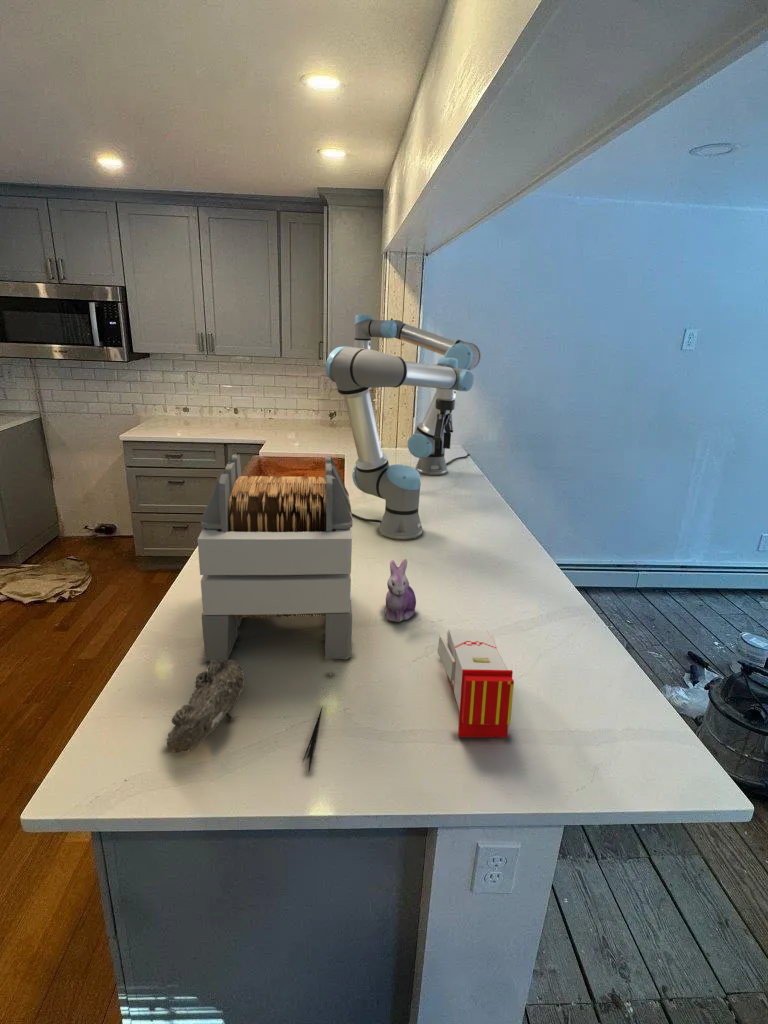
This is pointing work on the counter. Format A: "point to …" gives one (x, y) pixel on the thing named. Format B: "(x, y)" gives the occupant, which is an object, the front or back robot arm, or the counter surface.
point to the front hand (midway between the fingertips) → (442, 452)
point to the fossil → (206, 705)
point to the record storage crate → (276, 555)
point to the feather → (313, 740)
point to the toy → (478, 682)
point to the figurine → (399, 594)
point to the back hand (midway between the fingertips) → (360, 396)
